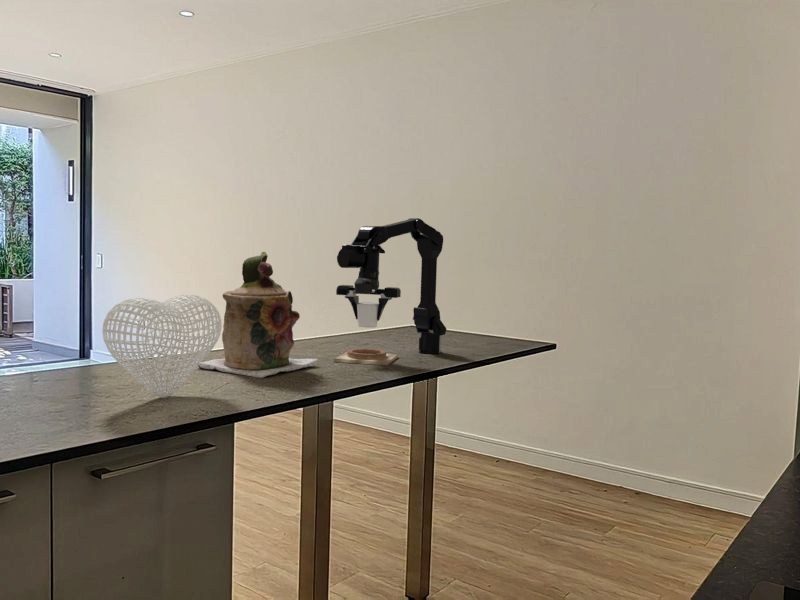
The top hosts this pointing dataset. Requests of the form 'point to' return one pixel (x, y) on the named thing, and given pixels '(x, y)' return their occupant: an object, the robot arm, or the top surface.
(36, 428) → the top surface
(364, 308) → the white cylinder
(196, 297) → the heart
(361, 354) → the collar board
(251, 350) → the cookie jar
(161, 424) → the top surface
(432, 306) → the robot arm
